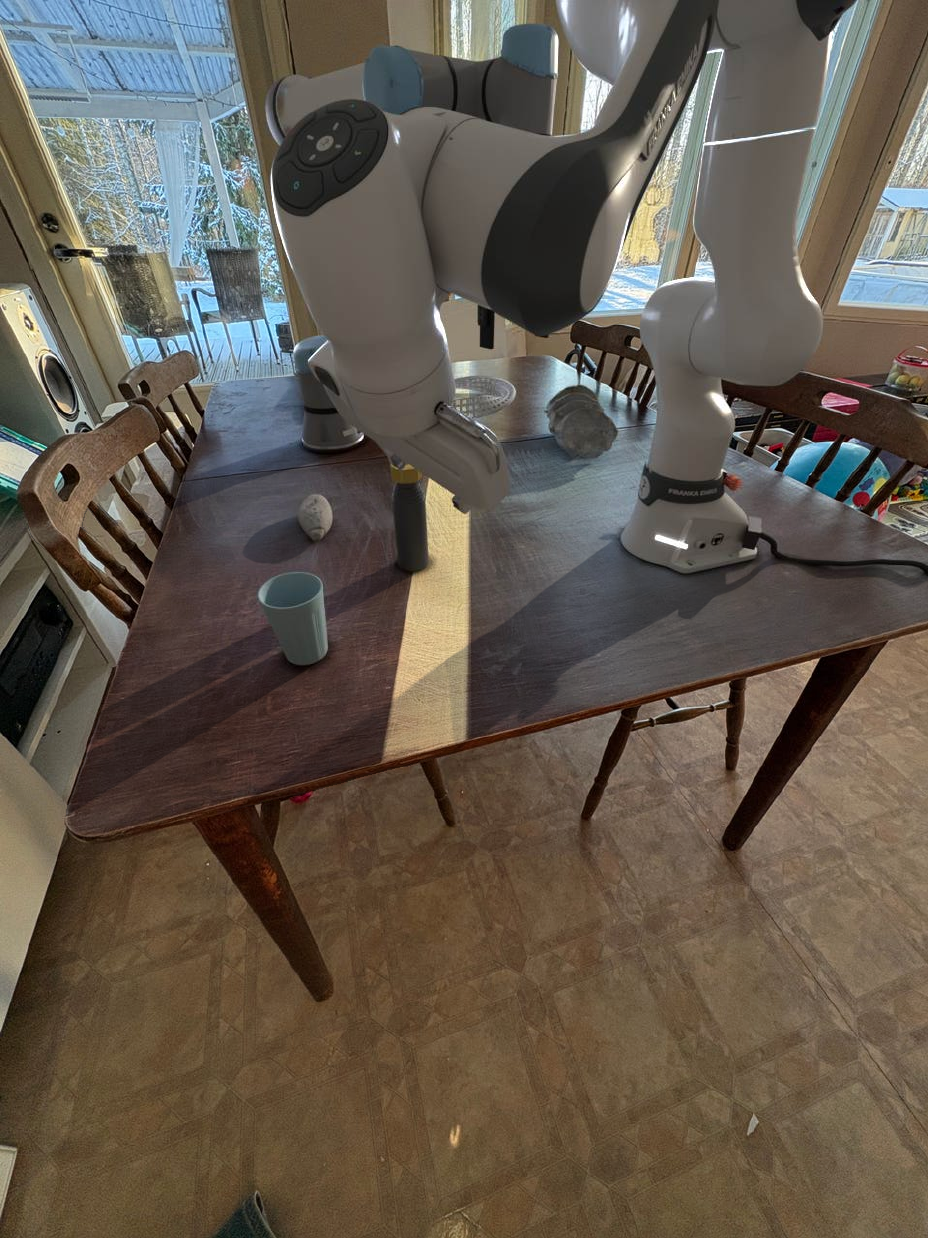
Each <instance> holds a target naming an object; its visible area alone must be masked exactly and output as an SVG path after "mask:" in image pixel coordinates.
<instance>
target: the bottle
mask: <svg viewBox="0 0 928 1238" xmlns="http://www.w3.org/2000/svg"><path fill="white" fill-rule="evenodd" d="M391 505H392V513H393V523H394V524H393V525H394V534H395V542H396V552H397V553H396V554H397V562H398V563H397V564H398V566H399V568H400V569H402V570H403V571H406V572H419V571H422V570H425V569H426V568H427V567H429V564H430V559H429V558H430V557H429V556H430V555H429V538H428V521H427V506H426V495H425V492H424V490H423V487H422V485H421V483H420V481H417V482H414V483H409V484H402V483H397V482H395V484H394V488H393V490H392V494H391Z"/></svg>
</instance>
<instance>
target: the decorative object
mask: <svg viewBox="0 0 928 1238" xmlns="http://www.w3.org/2000/svg"><path fill="white" fill-rule="evenodd" d="M454 381H455V388H456V390H457V389H458V390H459V389H460V390H467V391H472V392H473V391H474V392H479V393H482V394H484V395H482V394H481V395H475V396H474V395H473V396H468V397H454V401H453V403H452V405H451V406H452V407H454V408H456V409H457V408H459V411H461V412H462V413H464V414H466V415H467V416H469V417H471V418H472V419H474V420H475V419H479V418H483V417H487V416H490V415H493V414H496V413H498V412H500V411H502V410H503V409H506V408H507V407H508V406H509V405H510V404H511V403H512V402H513V401H514V399H515V398H516V396H517V395H516V394H517V391H516V387H515V386H514V385H513V384H512V383H511V382H509V381H507V380H506V379H503V378H500V377H498V376H497V377H496V376H491V375H469V376H468V375H467V376H462V377H456V378H454ZM457 401H459V403H457ZM464 401H465V403H463V402H464ZM464 407H465V410H463V409H464ZM470 407H471V409H470ZM477 413H478V414H477ZM470 414H472V415H471V416H470Z"/></svg>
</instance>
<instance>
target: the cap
mask: <svg viewBox="0 0 928 1238" xmlns="http://www.w3.org/2000/svg"><path fill="white" fill-rule="evenodd" d="M389 464H390V466H389V468H390V469H389V471H390V476H391V480H392V481H393V482H395V483H396V482H397V483H402V484H409V483H414V482H417V481H418V482H420V480H422V478H423V473H421V472H420V471H418V470H417V469H415V468H414V467H412V466H411V465H409V464H407V465H405V467H404V468H403V469H402V470H399V469H398V468H396V467H395V466H393V465H392V464H391V463H389Z"/></svg>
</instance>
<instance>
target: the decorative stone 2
mask: <svg viewBox="0 0 928 1238" xmlns="http://www.w3.org/2000/svg"><path fill="white" fill-rule="evenodd" d="M543 412H544V414H546V418H547V419H548V420H549V421H548V424H547V425H548V426H547V427H548V430H549V432H550V433H551V434H552V437H554V438H555V441H556V444H557V446H559V447H560V448H561V449H562V450H563V451H565V452H566V454H567V456H569V457H571V458H574V459H577V460H589V459H595V458H598V457H600V456H602V455H603V454H604V452H609V451H610V450H611V449H612V447H613V443H614V442H615V440H616V438H617V437H618V434H619V430H618V427H617V425H616V424H615V422H614V420H613V418H612V417H610V416H608V414H607V413H606V412H605V409H604V408H603V406H602V405H601V403H600V400H599V398H598V395H597V394H596V393H595V392H594V391H593V390H591V389H590V388H589V387H587V386H586V385H583V384H577V385H570V386H567V387H565V388H563V389H561V390H559V391H558V392H557V393H555V395H553V397H552V398H551V399H550V400H549V401H548V404H547V405H546V407H545V409H544V410H543Z"/></svg>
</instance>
